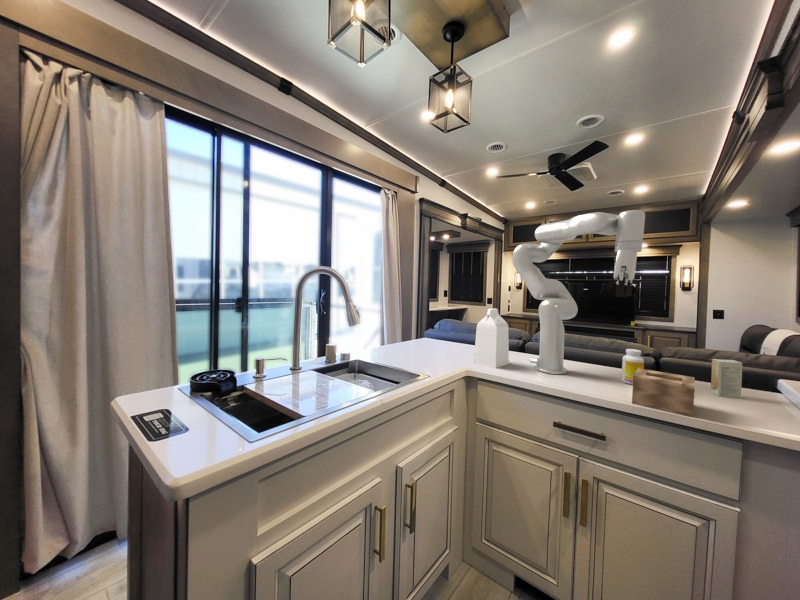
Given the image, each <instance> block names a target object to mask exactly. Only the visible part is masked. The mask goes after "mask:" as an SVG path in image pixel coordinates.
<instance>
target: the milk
mask: <svg viewBox="0 0 800 600" xmlns="http://www.w3.org/2000/svg"><path fill="white" fill-rule="evenodd" d="M475 330H476V331H475V332H476V333H475V343H474V353H473V364H475V365H480V366H484V367H489V368H493V369H498V368H500V367H504V366H506V365H509V363H510V357H509V356H510V355H509V354H510V353H509V351H510V350H509V348H510V347H509V344H510V342H509V324H508V323H507V321H506V320H505V319H504V318H503V317H502V316H501V314H500V313H499V310H498V308H488V309H487V313H486V315H485V316H484V317H483V318H482V319H480V321H478V322H477V325H476V328H475Z"/></svg>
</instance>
